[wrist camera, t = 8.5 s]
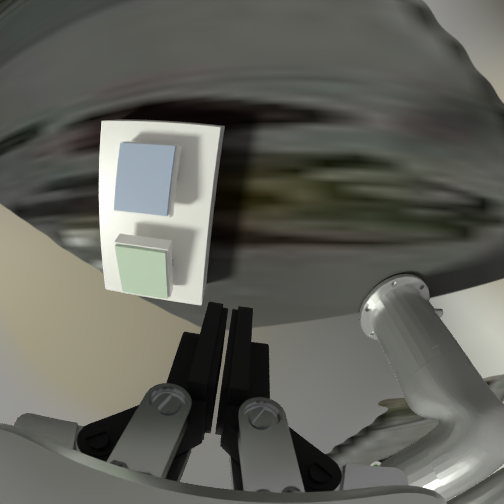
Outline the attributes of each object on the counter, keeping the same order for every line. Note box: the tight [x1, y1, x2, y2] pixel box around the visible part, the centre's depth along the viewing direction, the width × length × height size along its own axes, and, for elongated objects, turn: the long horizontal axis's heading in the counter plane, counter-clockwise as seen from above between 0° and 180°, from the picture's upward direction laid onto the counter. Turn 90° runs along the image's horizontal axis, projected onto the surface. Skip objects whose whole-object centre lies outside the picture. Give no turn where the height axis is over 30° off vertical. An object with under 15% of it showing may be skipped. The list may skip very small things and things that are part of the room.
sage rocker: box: [114, 234, 173, 299], centre depth 31 cm, size 6×7×2 cm
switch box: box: [99, 119, 225, 305], centre depth 32 cm, size 13×21×6 cm, turn 171°
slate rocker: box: [114, 141, 182, 218], centre depth 27 cm, size 6×7×2 cm
